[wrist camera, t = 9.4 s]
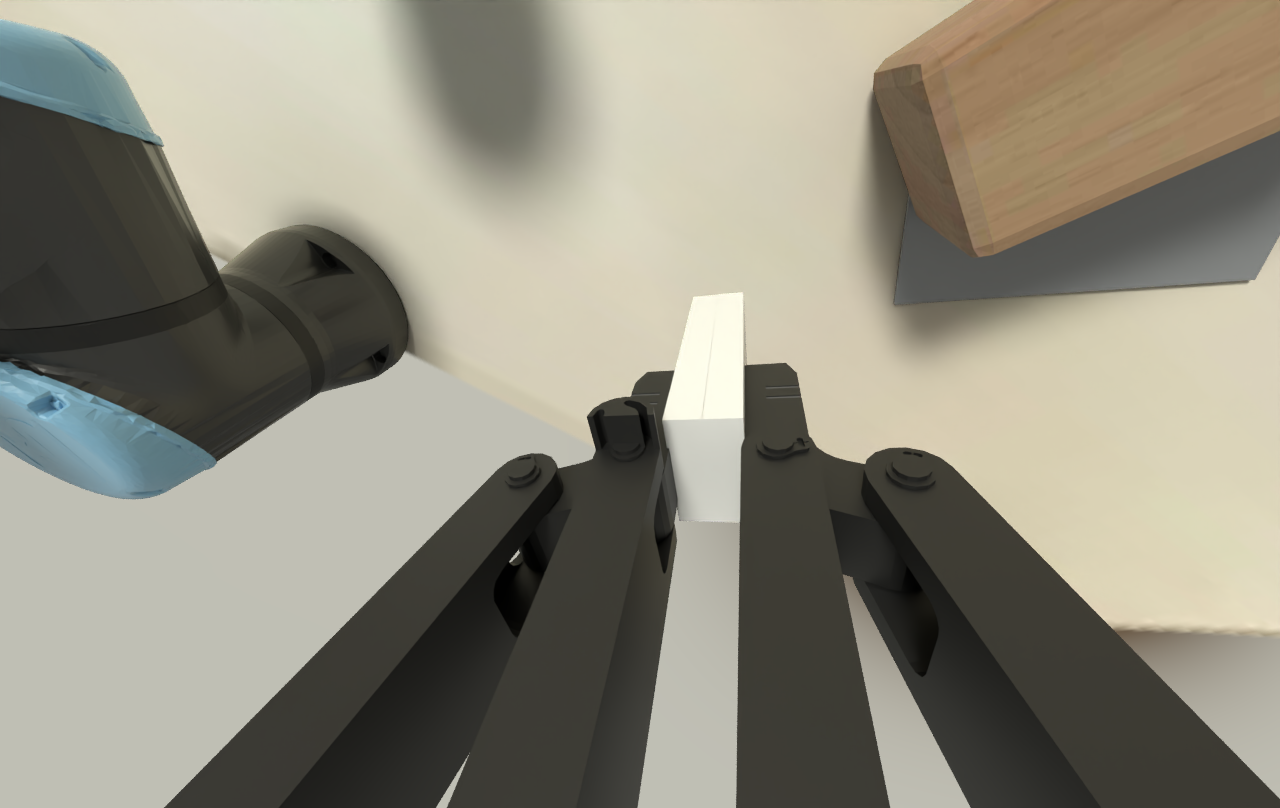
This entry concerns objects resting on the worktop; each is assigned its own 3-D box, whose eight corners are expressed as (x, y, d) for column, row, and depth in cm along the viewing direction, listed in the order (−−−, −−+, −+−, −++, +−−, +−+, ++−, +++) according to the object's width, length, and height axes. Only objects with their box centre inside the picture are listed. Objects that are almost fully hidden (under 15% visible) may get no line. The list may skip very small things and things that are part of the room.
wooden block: (863, 72, 27) (1402, -287, 17) (916, 225, 30) (1384, -4, 21) (909, 59, 18) (1958, -620, 9) (974, 271, 22) (1774, -69, 13)
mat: (893, 303, 34) (894, 304, 33) (931, 29, 25) (932, 29, 25) (1250, 278, 28) (1254, 279, 28) (1447, -80, 20) (1456, -82, 20)
